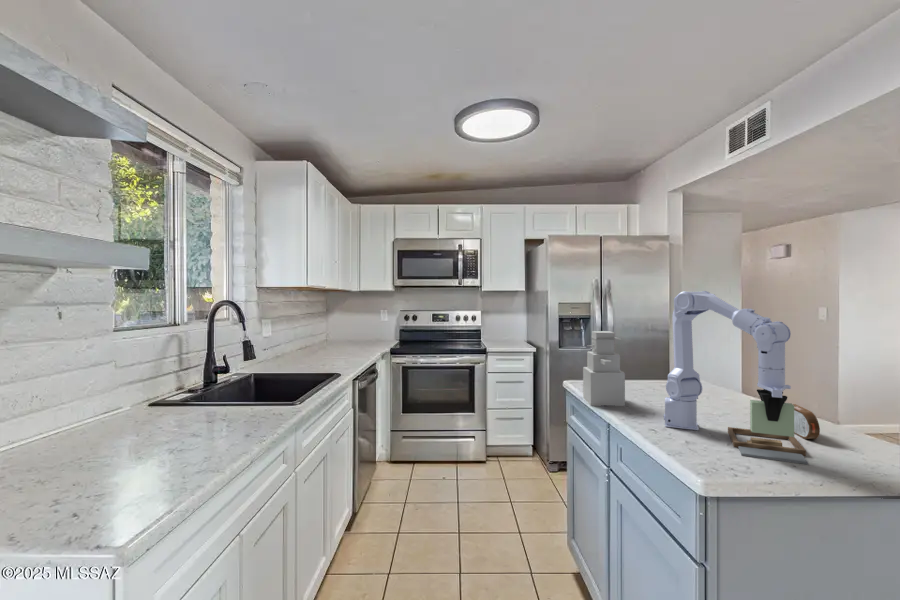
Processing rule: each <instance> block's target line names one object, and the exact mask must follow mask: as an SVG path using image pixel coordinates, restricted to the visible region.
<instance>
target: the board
mask: <svg viewBox="0 0 900 600" xmlns="http://www.w3.org/2000/svg"><path fill="white" fill-rule="evenodd" d="M793 404H794V403H789V402H785V403H784V404H783V406H782V409H781V413H780V417H779V420H778V422H776V421H768V419H767V415H766V409H765V405H764V402H763V401H761V400H755V399H750V401H749V405H750V406H749V407H750V408H749V412H750V413H749V414H750V415H749V419H750V420H749V429H750V430H751V431H752V432H754V433H763V434H772V435H781V436H790V437H795V433H794V405H793Z"/></svg>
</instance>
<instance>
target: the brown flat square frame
mask: <svg viewBox="0 0 900 600" xmlns="http://www.w3.org/2000/svg"><path fill="white" fill-rule="evenodd" d="M727 434H728V437H729V438H730V441H731V444H732V446H733V448H737V449H739V448H738V446H741V447H749V448H757V449H765V450H773V451H781V452H789V453H797V454H802V455H803V456H804V457H807V456H806V455H807V451H806V449H805V448H804V447H803V445H802V444H801V443H800V442H799V441H798V439H797V438H796V437H795V436H794V437H790V436H781V435H772V434H763V433H754V432H752V431H751V430H750V428H749V429H747V428H741V427H731V426H728V427H727ZM736 435H746V436H751V437H754V436H755V437H760V438H761V437H762V438H770V439H779V440H780V439H781V440H787V439H789V440H788V441H789V442H790V444H791V445H792V446H793V447H790V446H789V447H787V446H783V447H781V446H773V445H764V444H756V443H748V442H747V441H739V440H738V439H737V436H736Z"/></svg>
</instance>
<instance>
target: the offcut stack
mask: <svg viewBox="0 0 900 600" xmlns="http://www.w3.org/2000/svg"><path fill="white" fill-rule="evenodd" d="M746 442H748V443H756V444H764V445H773V446H781V447H784V446H783V442H782V440H780V439H779V440H778V439H772V438H770V439H769V438H763V437H762V438H761V437H754V436H751V437H750V440H749V439H747V440H746Z"/></svg>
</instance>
